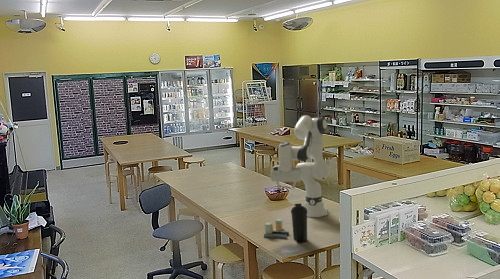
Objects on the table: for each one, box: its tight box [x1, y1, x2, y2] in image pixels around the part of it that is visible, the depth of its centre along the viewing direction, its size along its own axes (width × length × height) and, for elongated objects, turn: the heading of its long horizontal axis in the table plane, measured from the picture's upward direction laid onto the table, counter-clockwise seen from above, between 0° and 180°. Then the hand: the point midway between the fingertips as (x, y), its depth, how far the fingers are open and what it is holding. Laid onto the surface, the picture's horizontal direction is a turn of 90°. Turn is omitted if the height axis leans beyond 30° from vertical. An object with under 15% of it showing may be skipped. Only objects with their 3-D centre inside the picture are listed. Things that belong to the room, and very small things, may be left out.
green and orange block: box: [264, 222, 274, 234], centre depth 282 cm, size 4×4×8 cm
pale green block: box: [275, 218, 283, 231], centre depth 291 cm, size 4×4×8 cm
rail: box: [263, 230, 290, 241], centre depth 281 cm, size 10×15×3 cm, turn 71°
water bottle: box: [290, 203, 308, 244], centre depth 272 cm, size 10×10×23 cm
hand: (286, 187), depth 287 cm, fingers open, 8 cm apart
